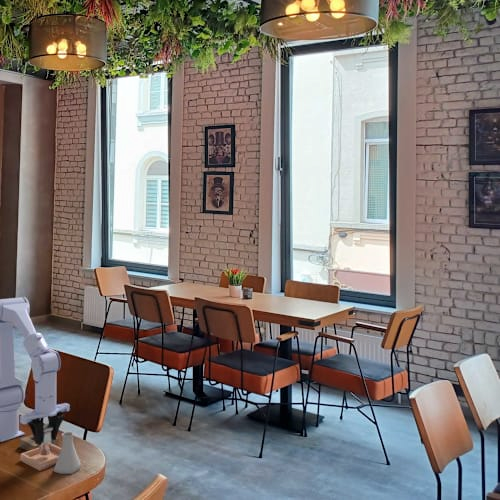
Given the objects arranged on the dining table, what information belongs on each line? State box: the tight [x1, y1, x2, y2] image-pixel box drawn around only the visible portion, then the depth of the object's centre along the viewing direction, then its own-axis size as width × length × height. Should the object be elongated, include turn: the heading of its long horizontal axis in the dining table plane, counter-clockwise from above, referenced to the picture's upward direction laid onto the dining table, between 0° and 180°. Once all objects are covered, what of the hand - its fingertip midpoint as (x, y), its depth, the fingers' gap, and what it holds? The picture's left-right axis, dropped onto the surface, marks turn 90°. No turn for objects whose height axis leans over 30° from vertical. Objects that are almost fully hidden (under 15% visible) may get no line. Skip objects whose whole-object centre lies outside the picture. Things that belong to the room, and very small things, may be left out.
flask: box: [53, 431, 82, 475], centre depth 157 cm, size 7×7×10 cm
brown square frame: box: [19, 434, 60, 452], centre depth 171 cm, size 8×8×2 cm
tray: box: [20, 444, 61, 472], centre depth 162 cm, size 10×10×2 cm
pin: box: [40, 423, 53, 455], centre depth 162 cm, size 4×4×8 cm
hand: (45, 441), depth 162 cm, fingers closed on pin, 4 cm apart
